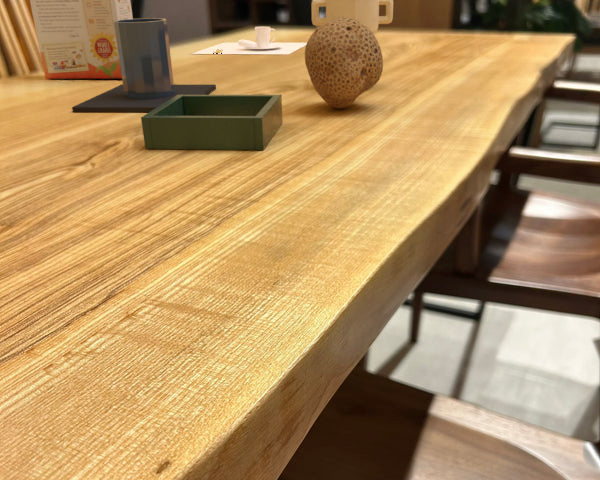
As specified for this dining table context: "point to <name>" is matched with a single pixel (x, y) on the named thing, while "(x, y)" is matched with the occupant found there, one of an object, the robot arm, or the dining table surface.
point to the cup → (144, 58)
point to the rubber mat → (135, 100)
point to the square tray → (213, 122)
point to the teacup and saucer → (255, 45)
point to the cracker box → (79, 37)
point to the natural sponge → (343, 61)
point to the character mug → (354, 11)
